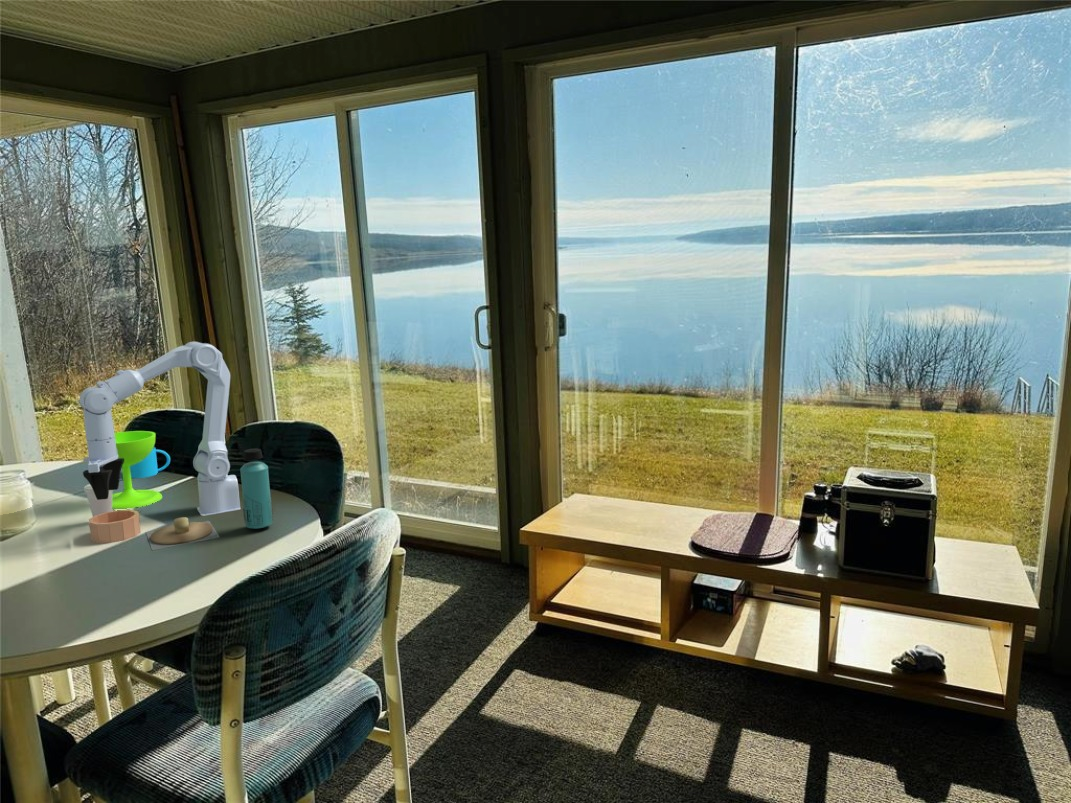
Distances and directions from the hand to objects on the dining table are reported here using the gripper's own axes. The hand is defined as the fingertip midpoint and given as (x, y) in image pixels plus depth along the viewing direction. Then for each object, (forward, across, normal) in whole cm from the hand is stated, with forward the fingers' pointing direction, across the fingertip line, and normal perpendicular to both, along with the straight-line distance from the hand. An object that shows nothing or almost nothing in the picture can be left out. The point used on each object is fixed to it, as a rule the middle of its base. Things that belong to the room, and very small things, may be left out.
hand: (107, 494), depth 168 cm
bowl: (+10, +3, +2) cm, 10 cm away
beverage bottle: (+10, +8, +34) cm, 36 cm away
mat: (+10, +7, +17) cm, 21 cm away
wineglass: (+10, -27, -4) cm, 29 cm away
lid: (+9, +7, +17) cm, 21 cm away
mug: (+10, -57, -6) cm, 58 cm away
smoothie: (+10, -10, -5) cm, 15 cm away
